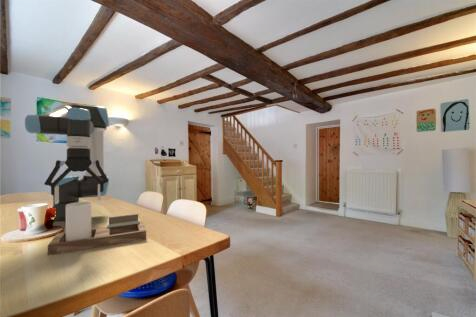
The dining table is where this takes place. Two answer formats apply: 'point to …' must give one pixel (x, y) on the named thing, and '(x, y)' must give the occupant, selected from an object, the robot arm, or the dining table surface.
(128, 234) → the board
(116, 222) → the lid
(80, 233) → the cup
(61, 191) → the robot arm
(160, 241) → the dining table surface
